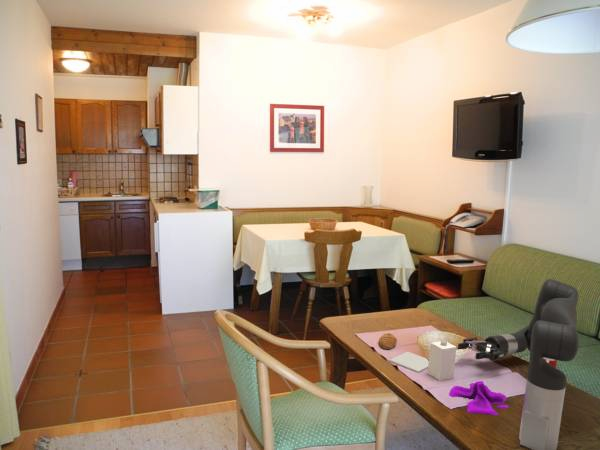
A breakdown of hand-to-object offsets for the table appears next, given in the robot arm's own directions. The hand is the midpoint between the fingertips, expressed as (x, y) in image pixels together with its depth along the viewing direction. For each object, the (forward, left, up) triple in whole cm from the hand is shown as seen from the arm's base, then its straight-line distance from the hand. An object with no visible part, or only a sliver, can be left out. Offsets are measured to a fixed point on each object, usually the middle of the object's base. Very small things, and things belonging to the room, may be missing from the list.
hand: (467, 351), depth 179 cm
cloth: (-15, -13, -8) cm, 21 cm away
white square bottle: (-11, +4, -7) cm, 13 cm away
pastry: (-2, +31, -7) cm, 32 cm away
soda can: (+6, -24, -7) cm, 26 cm away
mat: (-9, +16, -7) cm, 19 cm away
